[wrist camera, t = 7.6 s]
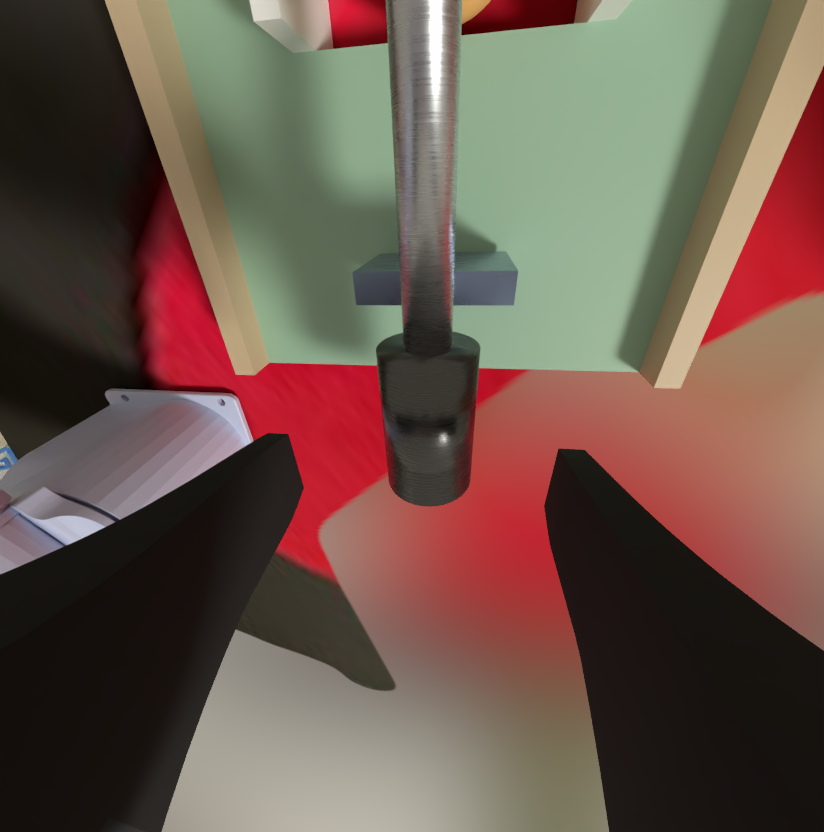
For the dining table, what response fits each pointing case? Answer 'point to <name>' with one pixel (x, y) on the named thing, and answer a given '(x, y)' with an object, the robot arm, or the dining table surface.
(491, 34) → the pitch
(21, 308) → the dining table surface
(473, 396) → the rod
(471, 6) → the ball
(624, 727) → the robot arm
